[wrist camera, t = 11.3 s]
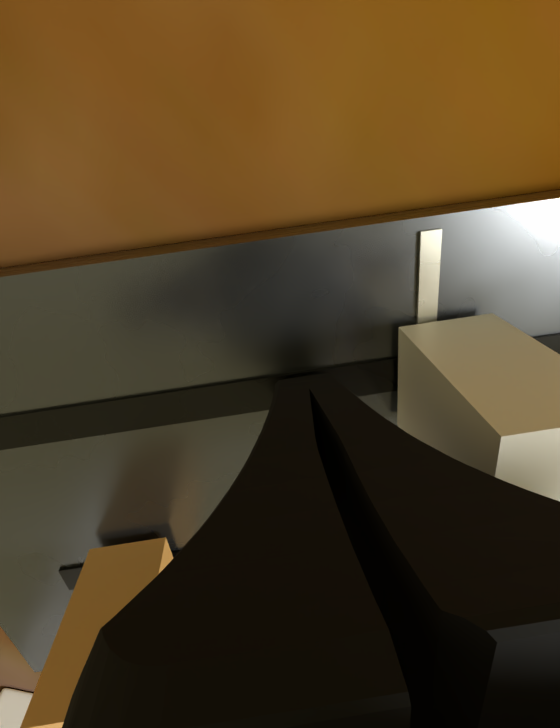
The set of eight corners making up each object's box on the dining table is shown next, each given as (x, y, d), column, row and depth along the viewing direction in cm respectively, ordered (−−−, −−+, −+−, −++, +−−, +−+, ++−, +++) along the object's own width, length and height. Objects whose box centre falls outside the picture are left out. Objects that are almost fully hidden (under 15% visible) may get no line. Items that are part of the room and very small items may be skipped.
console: (562, 557, 17) (585, 586, 16) (47, 639, 17) (33, 675, 16) (676, 172, 10) (730, 174, 9) (-185, 294, 10) (-240, 311, 9)
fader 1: (187, 596, 14) (166, 770, 10) (118, 607, 14) (69, 786, 10) (165, 537, 13) (131, 710, 9) (89, 549, 13) (19, 729, 9)
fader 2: (479, 412, 12) (606, 546, 8) (397, 424, 11) (480, 566, 7) (492, 313, 10) (655, 413, 6) (398, 327, 10) (501, 436, 6)
